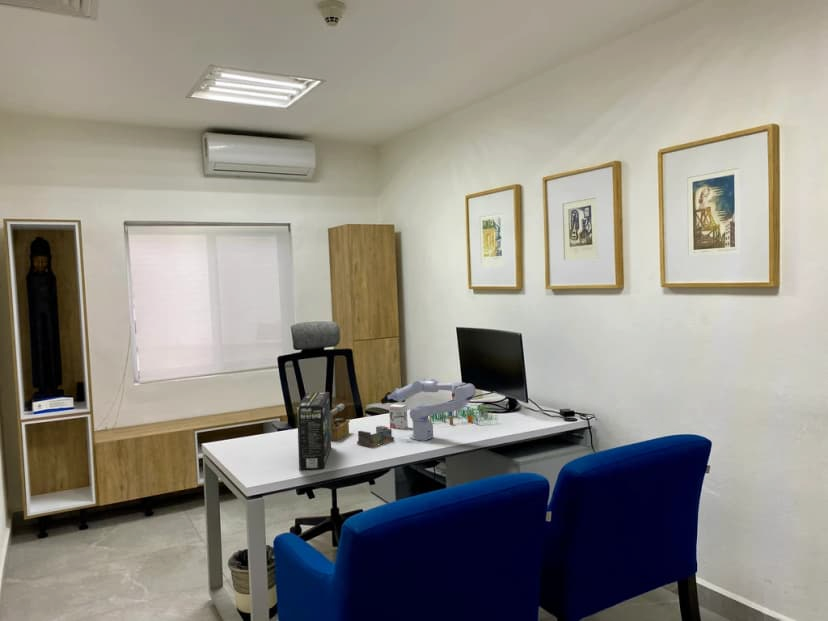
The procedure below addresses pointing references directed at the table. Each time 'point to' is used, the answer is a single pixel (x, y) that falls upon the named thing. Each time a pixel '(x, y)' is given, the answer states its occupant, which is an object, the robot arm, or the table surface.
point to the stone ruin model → (374, 438)
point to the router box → (314, 430)
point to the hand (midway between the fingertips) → (386, 401)
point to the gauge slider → (381, 428)
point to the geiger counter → (338, 424)
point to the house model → (470, 415)
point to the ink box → (398, 416)
